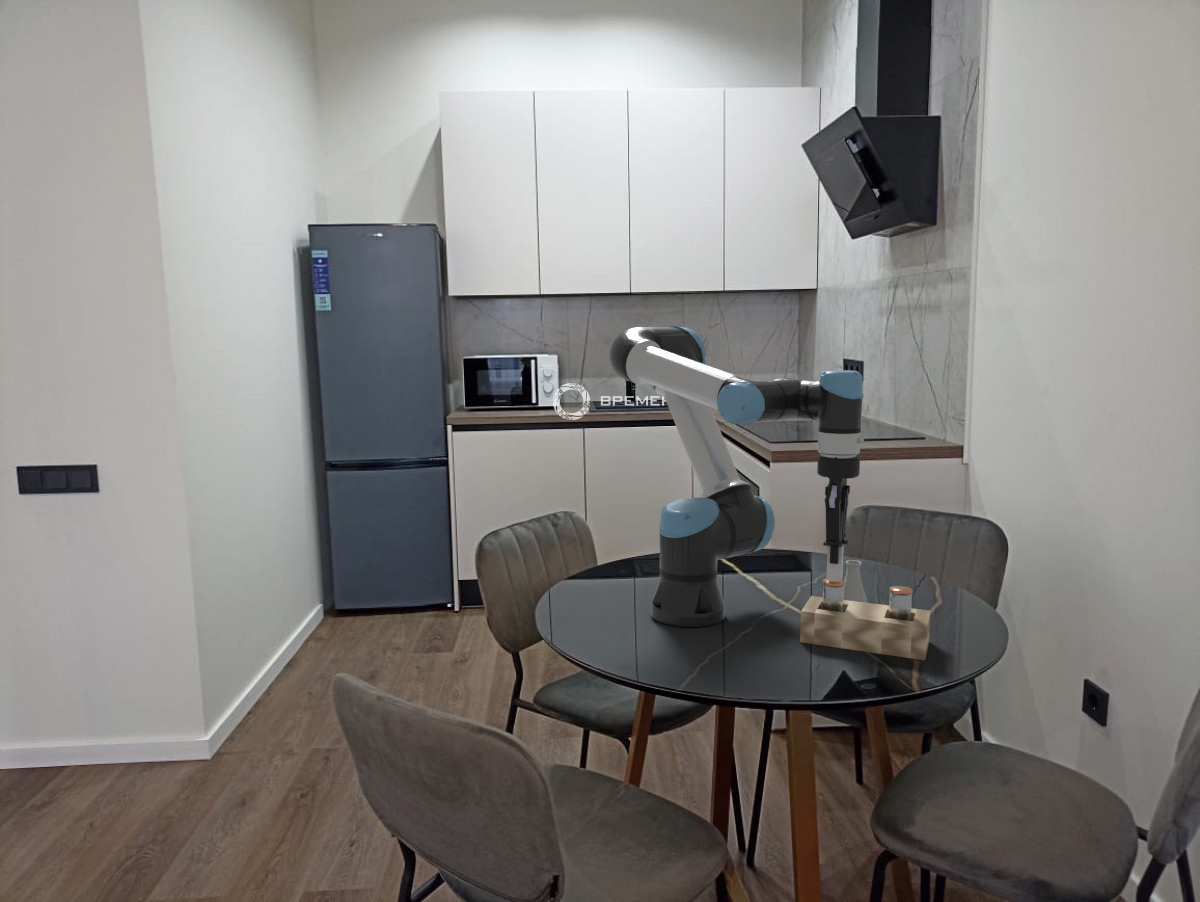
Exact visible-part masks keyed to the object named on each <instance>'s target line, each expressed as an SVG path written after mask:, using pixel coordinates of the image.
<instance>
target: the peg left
mask: <svg viewBox="0 0 1200 902" xmlns="http://www.w3.org/2000/svg"><path fill="white" fill-rule="evenodd" d="M822 583H823V585H822V597H823V607H822V610H829V611H836V612H843V604H844V585H845V581H844V580H843V579H842V580H841V581H838V580H829V579H827V578H824V579H822Z"/></svg>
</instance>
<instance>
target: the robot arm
mask: <svg viewBox="0 0 1200 902" xmlns="http://www.w3.org/2000/svg"><path fill="white" fill-rule="evenodd" d="M706 357H707V349H706V346H705V343H704V341H703V340H702V337H701V336H700V335H699V334H698V333H697V332H696V331H694V330H693V329H691V328H689V327H683V326H678V325H677V326H675V325H671V326H666V327H665V326H664V327H663V326H657V327H656V326H649V327H648V326H647V327H646V326H635V327H631V328H627V329H625V330H623V331H621V332H620V333H619V334H618V335H617V336H616V337H615V338H614V340H613V341H612V343H611V345H610V350H609V362H610V365H611V368H612V370H613V371H614V372H615V373H616V374H617V375H618V376H619V377H620V378H622V379H624V380H627V381H628V382H631V383H632V384H633V383H634V384H635V385H638V386H639V385H640V386H641V385H642V386H643V385H647V384H649V385H651V386H652V387H653V389H654V391H655V394H657V395H659V396H662V397H663V398H664V399H665V401H666V404H667V406H668V409H669V411H670V414H671V417H672V419H673V422H674V424H675V426H676V429H677V430H676V431H677V433H678V435H679V437H680V440H681V442H682V445H683V447H684V450H685V452H686V455H687V457H688V461H689V463H690V465H691V468H692V470H693V474H694V476H695V478H696V481H697V483H698V486H699V488H700V491H701V497H692V498H688V497H686V498H681V499H677V500H674V501H671V502H669V503H667V504H666V505H665V506H664V507H663V508H662V509H661V512H660V519H659V521H660V523H659V525H658V526H659V527H658V530H659V578H658V581H657V584H656V588H655V590H654V593H653V596H652V598H651V601H650V616H651V617H652V619H654V620H655V621H656V622H659V623H662V624H665V625H670V626H673V627H683V628H699V627H708V626H713V625H716V624H719V623H721V622H722V621H723V620H724V619H725V617H726V604H725V601H724V598H723V594H722V591H721V588H720V585H719V582H718V561H720V560H725V559H729V558H733V557H738V556H741V555H743V556H744V555H751V554H752V553H754V552H757V551H761V550H762V549H764V548H765V547H767V545H768V544H769V543H770V541H771V540H772V539H773V533H774V532H775V530H776V529H775V527H776V517H775V513H774V510H773V508H772V506H771V504H770V503H769V502H768V501H767V499H764V498H763V497H761V496H759V495H755V493H754V491H753V489H752V487H751V484H750V483H749V482H746V481H745V480H742V479H741V478H740V477H739V473H738V471H737V468H736V466H735V464H734V462H733V459H732V456H731V454H730V452H729V449H728V446H727V445H726V441H725V439H724V436H723V435H722V432H721V429H720V427H719V424H718V422H717V419H716V417H715V414H714V412H713V410H714V411H717V412H718V413H719V415H720V416H721V417H722V419H723V420H724V421H725V422H727V423H729V424H731V425H743V426H745V425H750V424H756V423H764V422H773V421H774V422H775V421H784V420H794V419H796V420H799V419H801V420H811V421H812V420H813V421H818V432H817V452H818V453H820V454H819V455H818V456H817V468H816V473H817V474H818V476H820V477H822V478H828V479H829V481H828V484H827V486H824V487H825V488H824V489H825V490H824V495H825V498H824V505H825V506H824V507H825V541H824V542H823V544H822V545H823V546H825V547H827V555H826V556H827V558H826V579H829V580H838V581H841V580H843V576H844V575H843V574H844V573H843V572H844V550H845V549H844V548H845V545H848V544H849V540H847V539H846V536H847V519H848V518H847V516H848V507H849V495H850V493H851V485H848V479H855V478H857V477H859V476H860V472H861V471H860V470H861V467H860V466H861V458H860V457H859V456H858V455H859V454H860V453H861V444H864V442H865V439H864V437H860V436H861V435H862V433H861V432H862V431H861V430H862V426H861V424H862V422H861V421H862V413H863V412H862V410H863V399H864V392H863V389H864V388H863V375H862V374H861V372H859V371H857V370H850V369H849V370H847V369H845V370H842V369H840V370H839V369H834V370H833V369H832V370H831V369H830V370H823V371H822V372H821V373H820V378H819V380H818V379H817V380H814V379H801V378H795V377H781V378H776V379H774V380H757V381H756V380H753V379H749V378H746V377H742V376H739V375H737V374H734V373H731V372H729V371H726V370H723V369H720V368H717V367H714V366H711V365H709V364H707V359H706ZM712 409H713V410H712Z"/></svg>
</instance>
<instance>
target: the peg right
mask: <svg viewBox="0 0 1200 902" xmlns="http://www.w3.org/2000/svg"><path fill="white" fill-rule="evenodd" d="M913 592H914V589H913V588H910V587H909V586H905V585H904V586H903V585H894V586H890V587H889V601H888V603H889V604H888V605H889V618H890V619H898V620H906V621H911V608H912V599H913V598H912V597H913Z"/></svg>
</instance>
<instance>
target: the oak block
mask: <svg viewBox="0 0 1200 902" xmlns="http://www.w3.org/2000/svg"><path fill="white" fill-rule="evenodd" d="M822 607H823V596H817V595H816V596H815V595H811V596H810V597H809V599H808V600H807V602H806V603H805V605H804V606H803V608H802V609H801V611H800V627H799V628H800V633H799V643H804V644H810V645H817V646H825V647H831V648H836V649H845V650H851V651H859V652H863V653H864V652H865V653H872V654H878V655H886V656H894V657H899V658H905V659H906V658H907V659H912V660H920V661H926V660H927V659H926V658H927V653H928V648H929V645H930V644H929V643H930V630H931V629H930V626H931V612H932V611H931V610H930V609H929V610H928V609H920V608H913V607H911V621H906V620H898V619H890V618H889V604H888V605H887V604H880V603H873V602H872V603H871V602H868V603H865V602H857V601H848V600H844V604H843V612H836V611H829V610H822Z"/></svg>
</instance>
